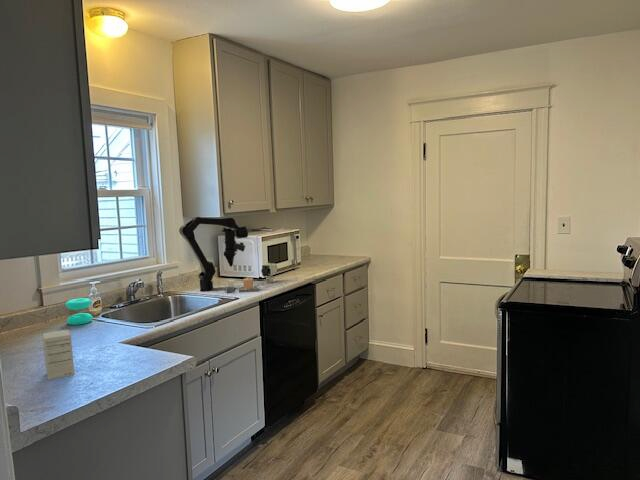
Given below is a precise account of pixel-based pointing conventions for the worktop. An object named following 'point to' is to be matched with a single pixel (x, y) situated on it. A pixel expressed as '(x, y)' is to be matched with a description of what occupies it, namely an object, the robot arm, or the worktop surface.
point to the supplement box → (58, 354)
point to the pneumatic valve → (269, 271)
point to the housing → (248, 283)
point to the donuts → (80, 317)
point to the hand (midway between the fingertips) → (231, 265)
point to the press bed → (248, 289)
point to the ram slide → (230, 283)
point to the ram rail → (230, 289)
